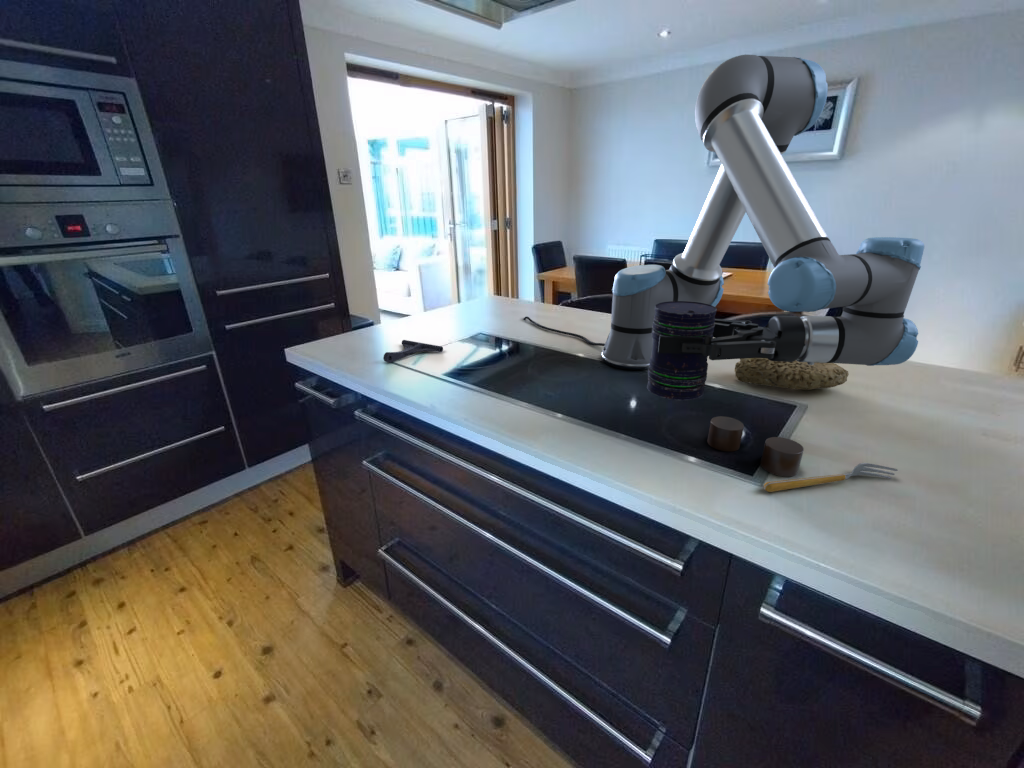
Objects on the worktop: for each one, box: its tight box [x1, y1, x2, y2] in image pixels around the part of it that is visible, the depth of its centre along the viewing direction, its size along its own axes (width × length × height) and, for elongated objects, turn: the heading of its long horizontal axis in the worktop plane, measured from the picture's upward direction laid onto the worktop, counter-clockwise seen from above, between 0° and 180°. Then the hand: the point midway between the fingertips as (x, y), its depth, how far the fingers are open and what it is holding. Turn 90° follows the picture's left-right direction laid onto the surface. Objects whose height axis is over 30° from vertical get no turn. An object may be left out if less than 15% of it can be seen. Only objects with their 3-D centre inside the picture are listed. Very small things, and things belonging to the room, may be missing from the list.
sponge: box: [733, 358, 849, 391], centre depth 95 cm, size 13×8×20 cm
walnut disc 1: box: [706, 415, 745, 453], centre depth 74 cm, size 5×5×4 cm
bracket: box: [383, 339, 444, 364], centre depth 121 cm, size 14×15×3 cm
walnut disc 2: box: [760, 436, 805, 478], centre depth 67 cm, size 5×5×4 cm
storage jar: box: [646, 301, 717, 401], centre depth 76 cm, size 10×10×15 cm
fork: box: [763, 462, 899, 493], centre depth 63 cm, size 2×2×20 cm
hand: (655, 335), depth 76 cm, fingers closed on storage jar, 10 cm apart
